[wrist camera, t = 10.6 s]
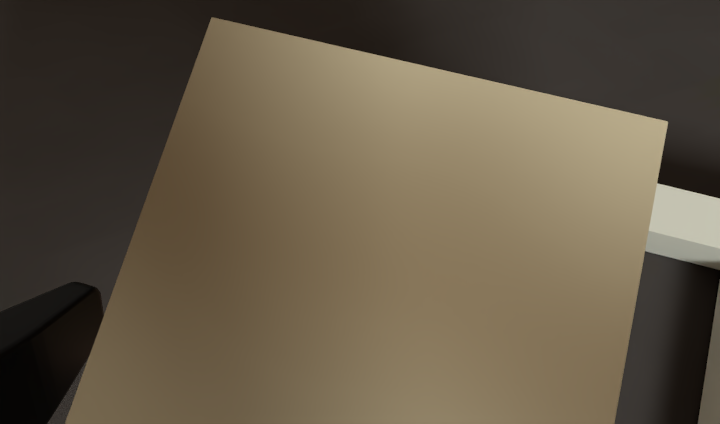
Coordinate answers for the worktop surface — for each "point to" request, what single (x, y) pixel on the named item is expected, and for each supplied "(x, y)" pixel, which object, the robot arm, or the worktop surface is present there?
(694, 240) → the corner arena
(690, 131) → the worktop surface
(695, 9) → the worktop surface
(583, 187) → the birch block
